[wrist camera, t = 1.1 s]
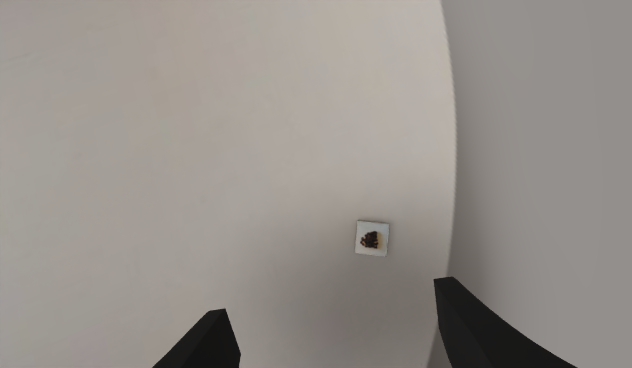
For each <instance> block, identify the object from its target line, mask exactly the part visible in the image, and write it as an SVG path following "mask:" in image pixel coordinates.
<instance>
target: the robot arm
mask: <svg viewBox="0 0 632 368" xmlns="http://www.w3.org/2000/svg"><path fill="white" fill-rule="evenodd" d="M434 287H435V296H436V305H437V314H438V323H439V329H440V333H441V336H442V340H443V343H444V346H445V349H446V352H447V355H448V358H449V361H450V363H451V365H452V368H577V367H575V366H573V365H571V364H570V363H568V362H566V361H564V360H562V359H561V358H559V357H557V356H556V355H554V354H552V353H551V352H549V351H547V350H546V349H544V348H543V347H541V346H539V345H538V344H536V343H535V342H533V341H532V340H530V339H529V338H527V337H526V336H524V335H523V334H522V333H520V332H519V331H518V330H516V329H515V328H513V327H512V326H511V325H509V324H508V323H507V322H505V321H504V320H503V319H501V318H500V317H499V316H498V315H497V314H495V313H494V312H493V311H492V310H490V309H489V308H488V307H487V306H485V305H484V304H483V303H482V302H481V301H480V300H479V299H477V298H476V297H475V296H474V295H473V294H472V293H470V291H468V290H467V289H466V288H465V287H464V286H463V285H462V284H461V283H460V282H459V281H458V280H456V279H455V278H454V277H446V278H439V279H434ZM240 356H241V353H240V350H239V347H238V344H237V341H236V338H235V335H234V332H233V330H232V327H231V324H230V321H229V318H228V315H227V312H226V309H219V310H212V311H208V312H207V313H206V314H205V315H204V316H203V317H202V318H201V319H200V320H199V321H198V322H197V323H196V324H195V325H194V326H193V327H192V328H191V329H190V330H189V331H188V332H187V333H186V334H185V335H184V336H183V337H182V338H181V339H180V341H179V342H178V343H177V344H176V345H175V346H174V347H173V348H172V349H171V350H170V351H169V352H168V353H167V354H166V355H165V356H164V357H163V358H162V359H161V360H160V361H158V362H157V363H156V364H155V365H154V366H153V367H152V368H239V363H240Z"/></svg>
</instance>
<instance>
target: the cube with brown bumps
mask: <svg viewBox="0 0 632 368" xmlns="http://www.w3.org/2000/svg"><path fill="white" fill-rule="evenodd" d="M388 235H389V224H387V223H379V222H370V221H361V220H358V224H357V234H356V244H355V253H360V254H368V255H376V256H383V257H386V256H387V245H388Z"/></svg>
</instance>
